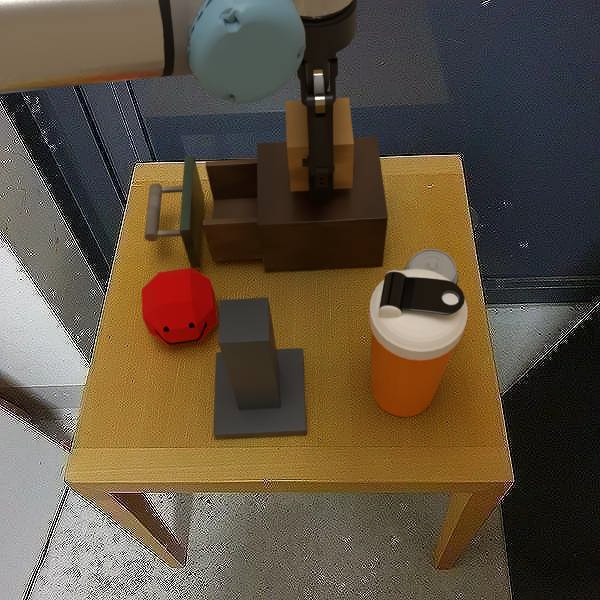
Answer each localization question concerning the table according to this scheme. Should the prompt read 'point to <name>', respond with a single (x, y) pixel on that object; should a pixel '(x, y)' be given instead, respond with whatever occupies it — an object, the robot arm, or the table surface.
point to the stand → (256, 376)
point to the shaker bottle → (413, 337)
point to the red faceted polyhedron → (179, 306)
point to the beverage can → (434, 263)
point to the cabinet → (321, 215)
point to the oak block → (300, 148)
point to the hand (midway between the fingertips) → (319, 172)
